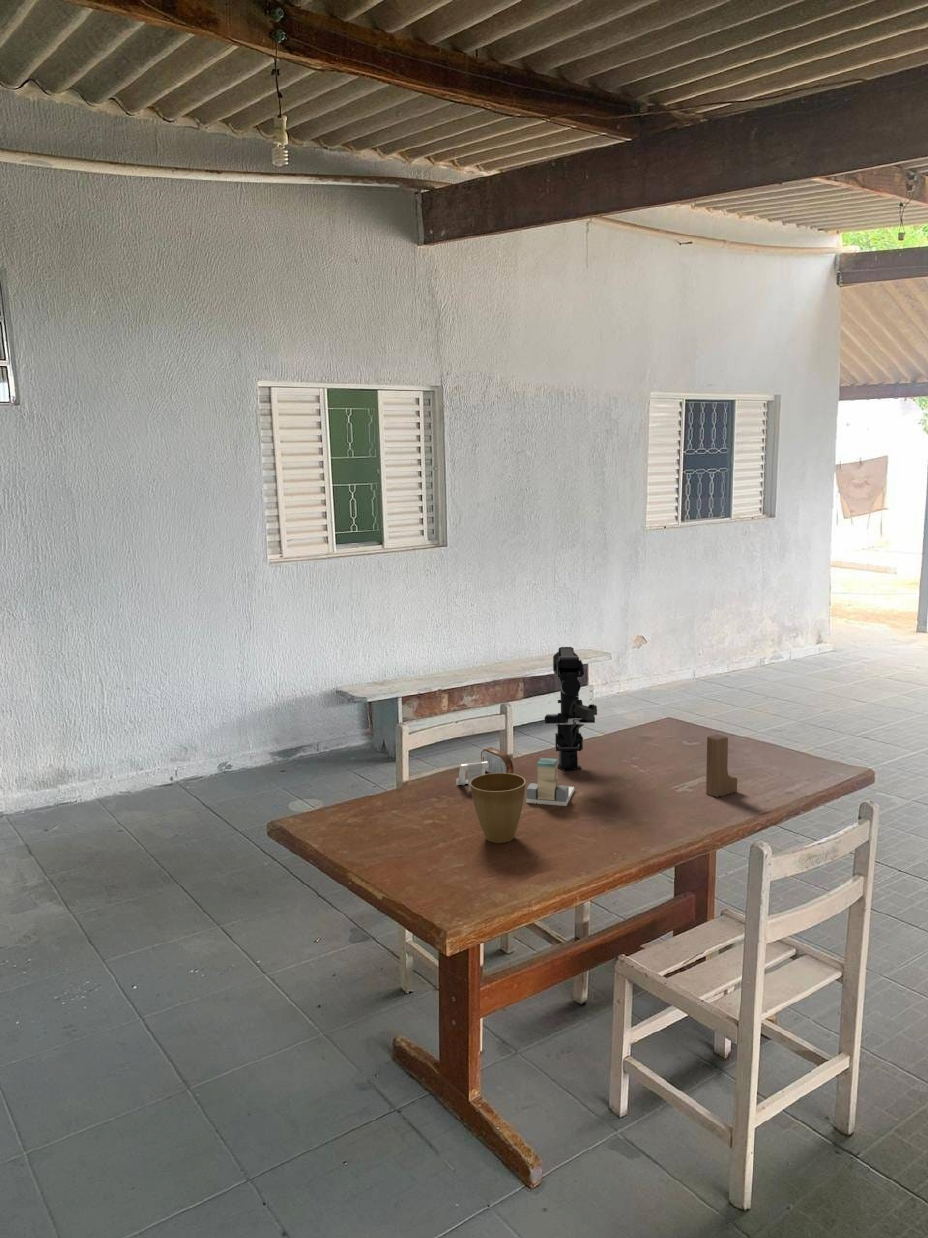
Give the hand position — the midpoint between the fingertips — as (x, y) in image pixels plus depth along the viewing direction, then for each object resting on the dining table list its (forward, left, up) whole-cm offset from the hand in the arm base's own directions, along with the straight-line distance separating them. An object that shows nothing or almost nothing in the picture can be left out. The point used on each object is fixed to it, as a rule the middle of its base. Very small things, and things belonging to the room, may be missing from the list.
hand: (570, 746), depth 288 cm
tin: (-20, -15, -13) cm, 28 cm away
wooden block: (+31, +34, -12) cm, 47 cm away
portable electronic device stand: (-14, -27, -13) cm, 33 cm away
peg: (+9, -14, -11) cm, 20 cm away
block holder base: (+6, -11, -12) cm, 18 cm away
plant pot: (+26, -41, -12) cm, 50 cm away
